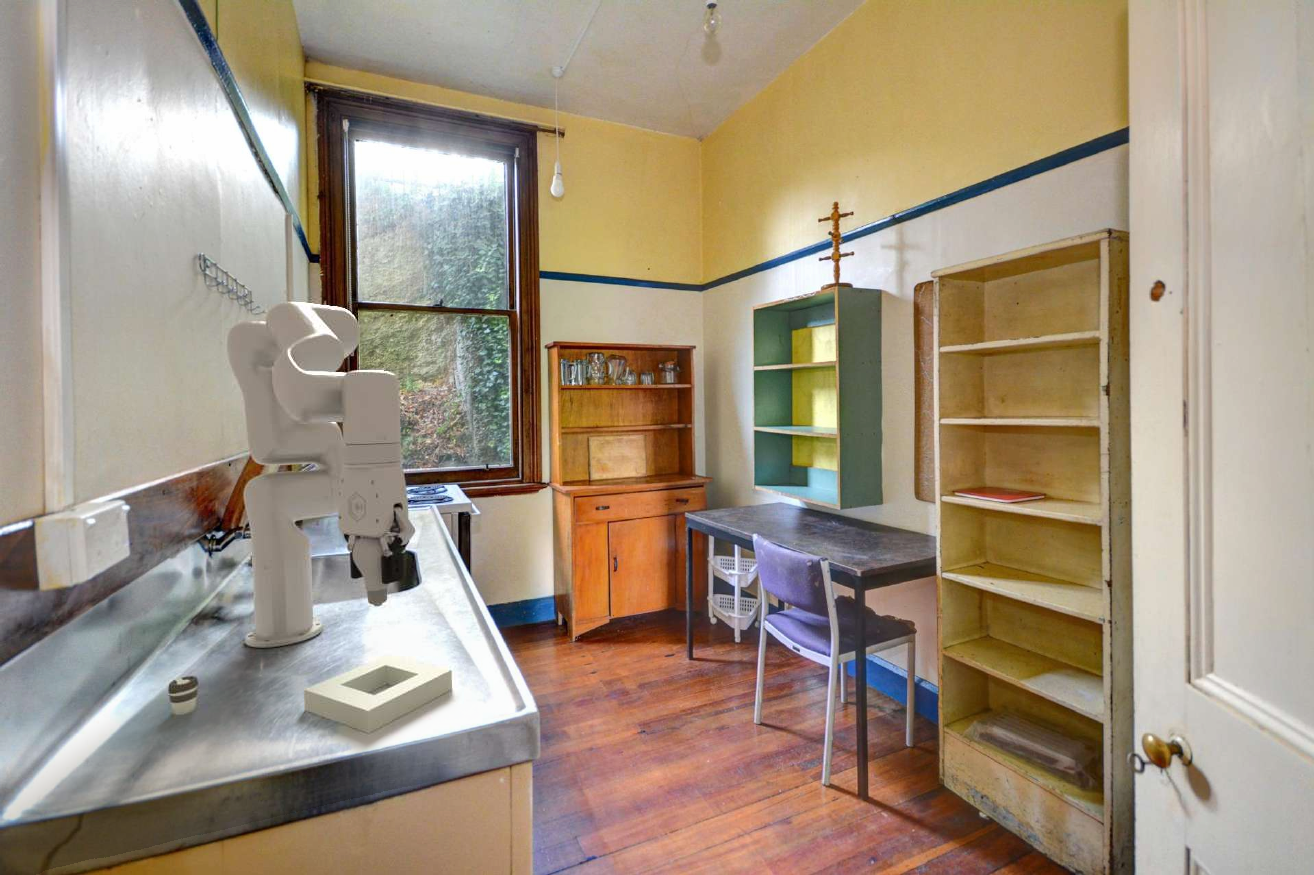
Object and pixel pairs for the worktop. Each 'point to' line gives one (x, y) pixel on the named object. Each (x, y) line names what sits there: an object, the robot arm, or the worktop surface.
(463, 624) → the worktop surface
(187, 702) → the coffee cup
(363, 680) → the socket block
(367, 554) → the lightbulb
